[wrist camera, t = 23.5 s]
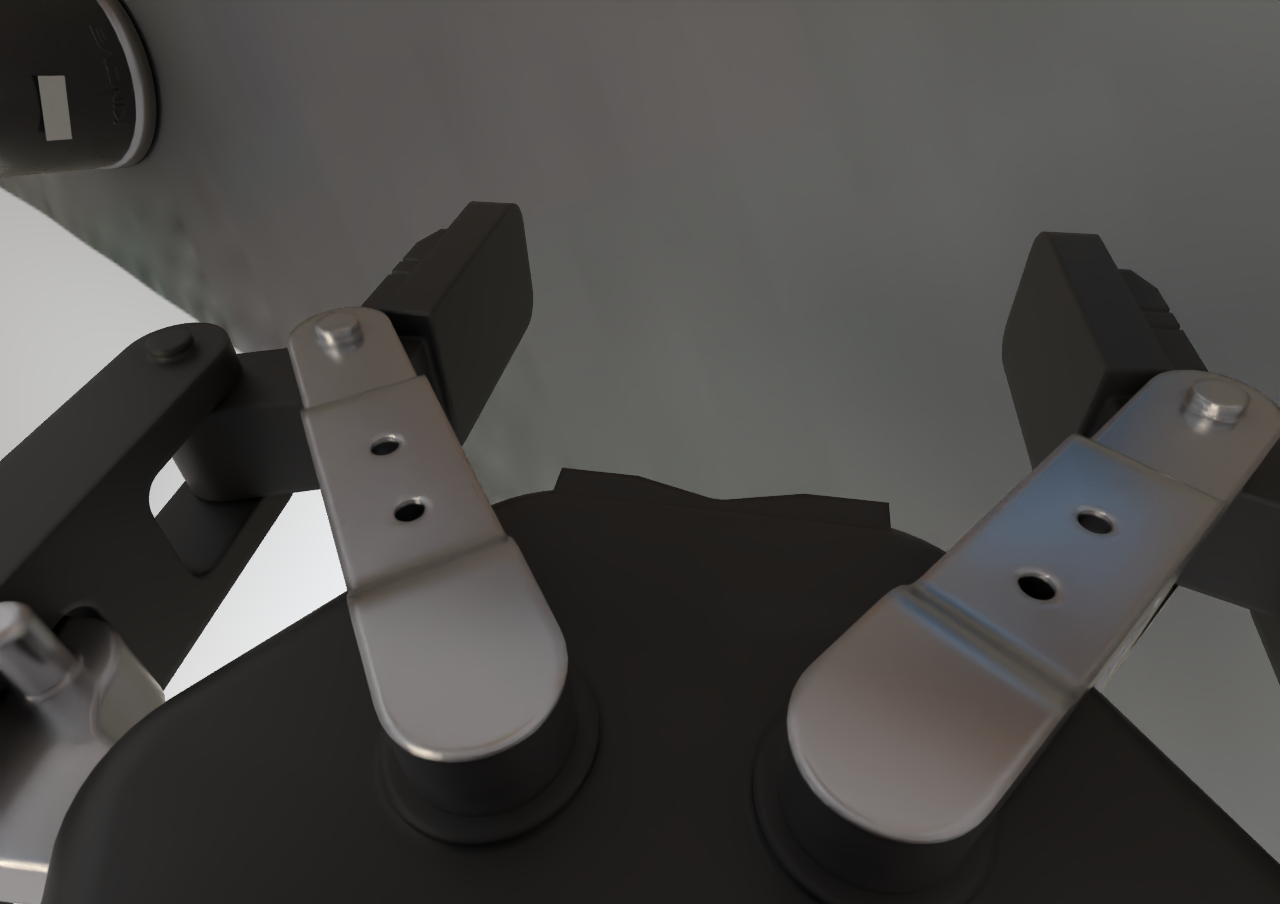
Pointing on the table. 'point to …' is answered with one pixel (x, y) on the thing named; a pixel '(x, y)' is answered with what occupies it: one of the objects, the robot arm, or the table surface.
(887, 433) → the table surface
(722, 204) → the table surface
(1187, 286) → the table surface
